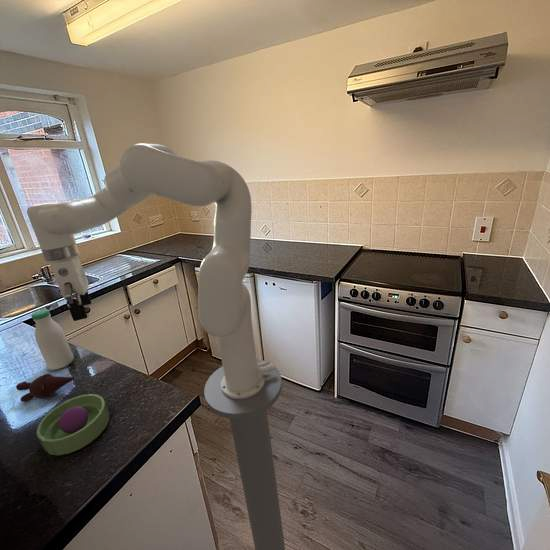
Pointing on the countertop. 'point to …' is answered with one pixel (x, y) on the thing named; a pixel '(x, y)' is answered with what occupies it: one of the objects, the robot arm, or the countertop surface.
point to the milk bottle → (51, 341)
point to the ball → (73, 419)
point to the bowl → (70, 442)
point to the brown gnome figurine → (42, 386)
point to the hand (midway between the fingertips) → (83, 311)
